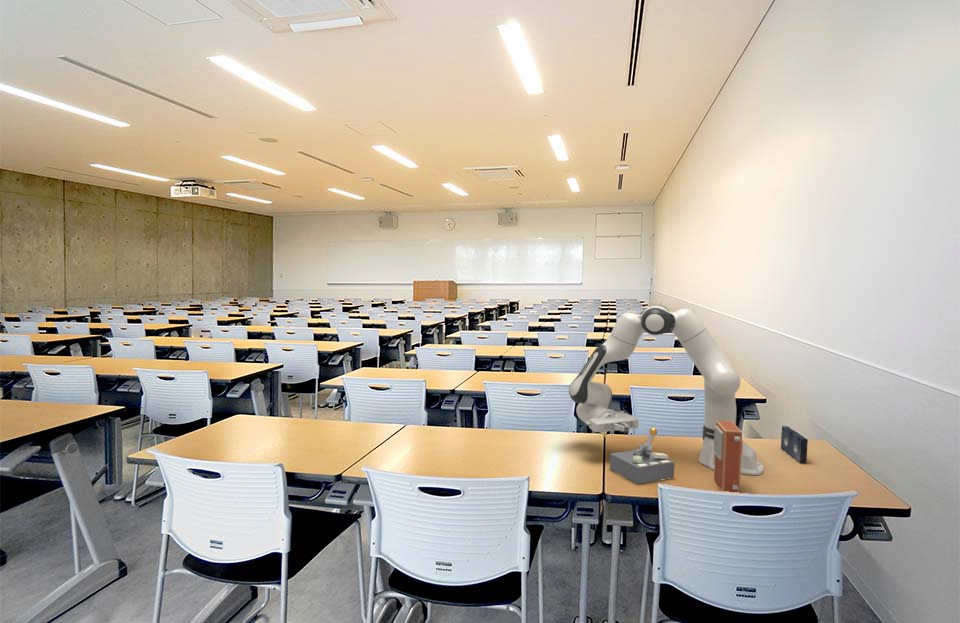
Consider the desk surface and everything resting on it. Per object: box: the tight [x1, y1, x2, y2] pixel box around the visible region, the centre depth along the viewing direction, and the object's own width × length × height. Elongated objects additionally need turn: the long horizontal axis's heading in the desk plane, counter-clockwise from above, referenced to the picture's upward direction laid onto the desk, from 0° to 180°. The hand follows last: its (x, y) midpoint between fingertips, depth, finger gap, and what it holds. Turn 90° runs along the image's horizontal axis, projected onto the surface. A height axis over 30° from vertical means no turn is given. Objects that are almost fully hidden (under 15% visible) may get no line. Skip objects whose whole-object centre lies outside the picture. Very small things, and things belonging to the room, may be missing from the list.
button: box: [633, 455, 642, 464], centre depth 189 cm, size 3×3×2 cm
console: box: [609, 448, 675, 485], centre depth 195 cm, size 16×16×8 cm
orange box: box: [713, 421, 743, 492], centre depth 183 cm, size 21×7×15 cm
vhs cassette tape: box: [780, 425, 809, 465], centre depth 215 cm, size 18×3×10 cm, turn 170°
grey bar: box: [637, 443, 654, 452], centre depth 201 cm, size 1×6×2 cm, turn 112°
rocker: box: [652, 452, 669, 459], centre depth 193 cm, size 3×5×1 cm, turn 112°
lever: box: [640, 427, 658, 456], centre depth 191 cm, size 3×3×13 cm
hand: (626, 429), depth 202 cm, fingers closed
